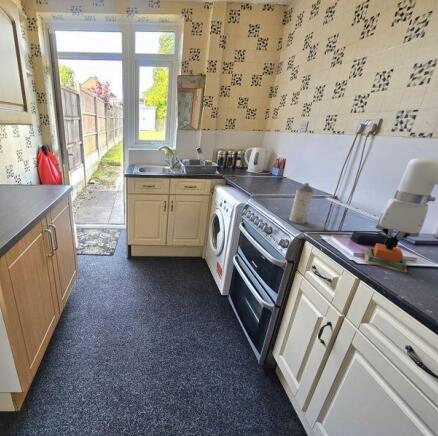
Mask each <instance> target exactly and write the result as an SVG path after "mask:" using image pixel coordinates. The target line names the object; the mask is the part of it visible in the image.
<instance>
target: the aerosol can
mask: <svg viewBox="0 0 438 436" xmlns="http://www.w3.org/2000/svg"><path fill="white" fill-rule="evenodd" d="M313 195H314V189H312V187H311V186H310V182H304V184H303V185H301V186H300V187H297V189H296V192H295V196H294V200H293V204H292V208H291V212H290V216H289V218H288V219H289V221H290V222H291V223H294V224H300V225H301V224H305V223H306V221H307V216H308V213H309V208H310V207H311V202H312V198H313Z"/></svg>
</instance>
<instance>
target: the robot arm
mask: <svg viewBox="0 0 438 436" xmlns="http://www.w3.org/2000/svg"><path fill="white" fill-rule="evenodd" d="M435 186H438V159H436V158H427V157H426V158H424V157H414V158H411V159H410V160H409V161H408V163H407V165H406V168H405V170H404V172H403V175H402V177H401V179H400V182H399V184H398V187H397V189H396V191H395V194H394V197H390V198H389V199H388V201H387V202H386V203H385V205H384V207H383V209H382V211H381V213H380V216H379V218H378V221H377V224H376V225H375V229H376V230H379V231H380V232H383V233H384V234H385V236H386V237H385V240H384V242H383V245H385V246H386V249H391V250H393V247H396V248H397V246H398V244H399V241H401V240H402V239H405V238H408V237H410V238H411V237H412V238H418V237H419V235H420V232H421V230H422V229H423V226H424V224H425V221H426V218H427V215H428V211H429V202H435V201H436V196H432V195H431V194H432V192H433V190H434V188H435ZM394 231H397V232H396V234H394Z"/></svg>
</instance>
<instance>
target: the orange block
mask: <svg viewBox="0 0 438 436" xmlns="http://www.w3.org/2000/svg"><path fill="white" fill-rule="evenodd" d="M373 248H374V250H373V253H372V256H373V257H377V258H381V259H385V260H389V261H393V262H397V263H400V261H401V258H402V256H403V257H404V255H403V252H402V250H401V248H400V247H397V246H396V247H393V250H391V249H386V246H385V245H384V243H383V244H382V243H378V242H377V243H375V245H374V247H373Z"/></svg>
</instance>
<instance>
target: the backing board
mask: <svg viewBox="0 0 438 436" xmlns="http://www.w3.org/2000/svg"><path fill="white" fill-rule="evenodd" d="M374 248H375V247H370V246H368V248H367V250H366V249H365V250H363V251H364V260H365V261H364V262H365V263H366V264H371V265H375V266H379V267H381V268H385V269H389V270H393V271H398V272H400V273H401V272H402V273H405V274H407V273H408V270H407V263H406V260H405V258H404V255H403V256H402V258H401V261H400V263H397V262H393V261H389V260H385V259H381V258H377V257H373V256H372V253H373V250H374Z"/></svg>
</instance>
